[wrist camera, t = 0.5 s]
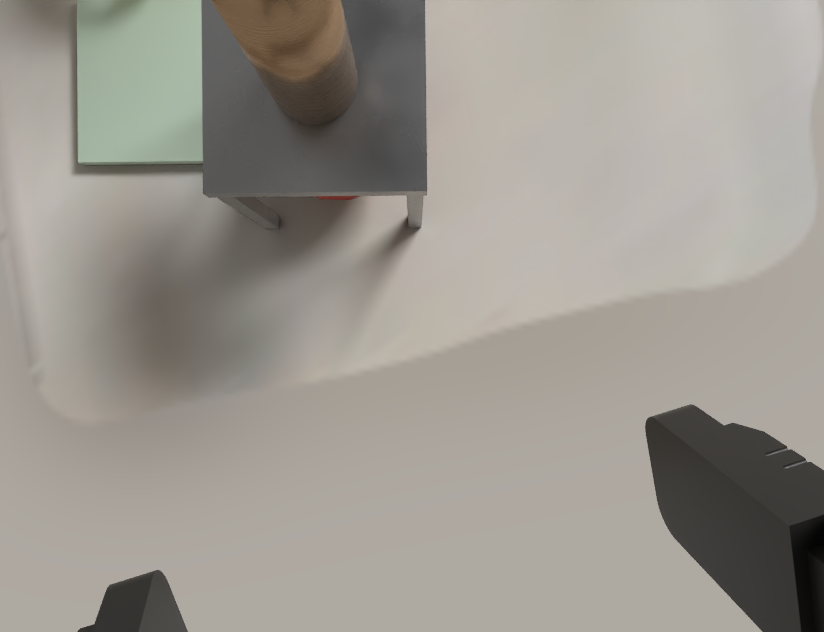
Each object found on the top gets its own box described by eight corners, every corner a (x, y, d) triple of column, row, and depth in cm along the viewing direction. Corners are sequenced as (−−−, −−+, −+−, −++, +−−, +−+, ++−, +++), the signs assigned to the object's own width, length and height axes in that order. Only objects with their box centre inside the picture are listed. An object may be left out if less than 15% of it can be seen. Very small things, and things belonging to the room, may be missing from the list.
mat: (82, -1, 37) (76, -7, 36) (248, -3, 37) (245, -9, 36) (83, 164, 37) (77, 162, 36) (249, 163, 37) (246, 160, 36)
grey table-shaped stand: (263, 73, 37) (88, -215, 17) (421, 71, 37) (429, -220, 17) (264, 231, 37) (91, 125, 17) (423, 229, 37) (434, 121, 17)
